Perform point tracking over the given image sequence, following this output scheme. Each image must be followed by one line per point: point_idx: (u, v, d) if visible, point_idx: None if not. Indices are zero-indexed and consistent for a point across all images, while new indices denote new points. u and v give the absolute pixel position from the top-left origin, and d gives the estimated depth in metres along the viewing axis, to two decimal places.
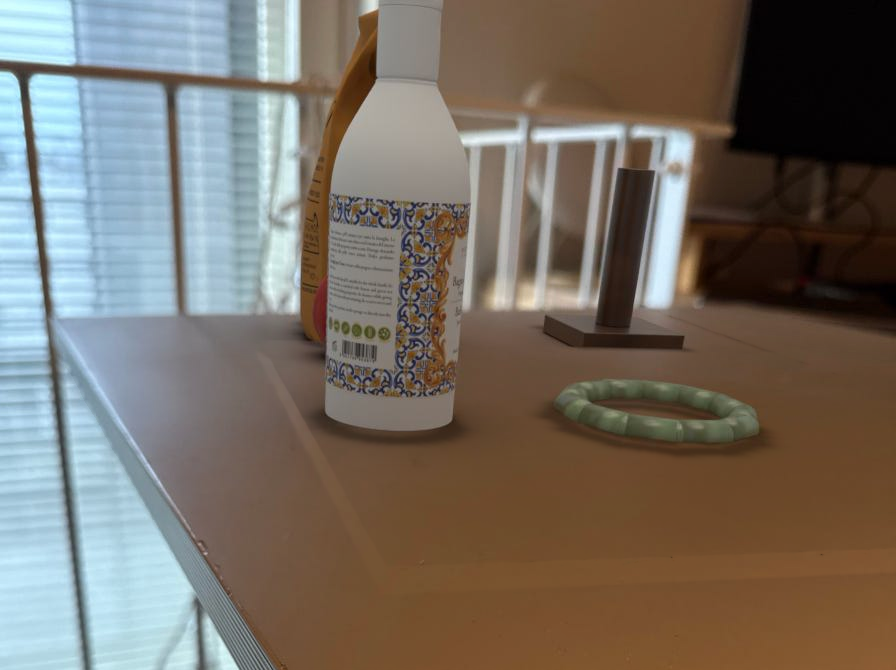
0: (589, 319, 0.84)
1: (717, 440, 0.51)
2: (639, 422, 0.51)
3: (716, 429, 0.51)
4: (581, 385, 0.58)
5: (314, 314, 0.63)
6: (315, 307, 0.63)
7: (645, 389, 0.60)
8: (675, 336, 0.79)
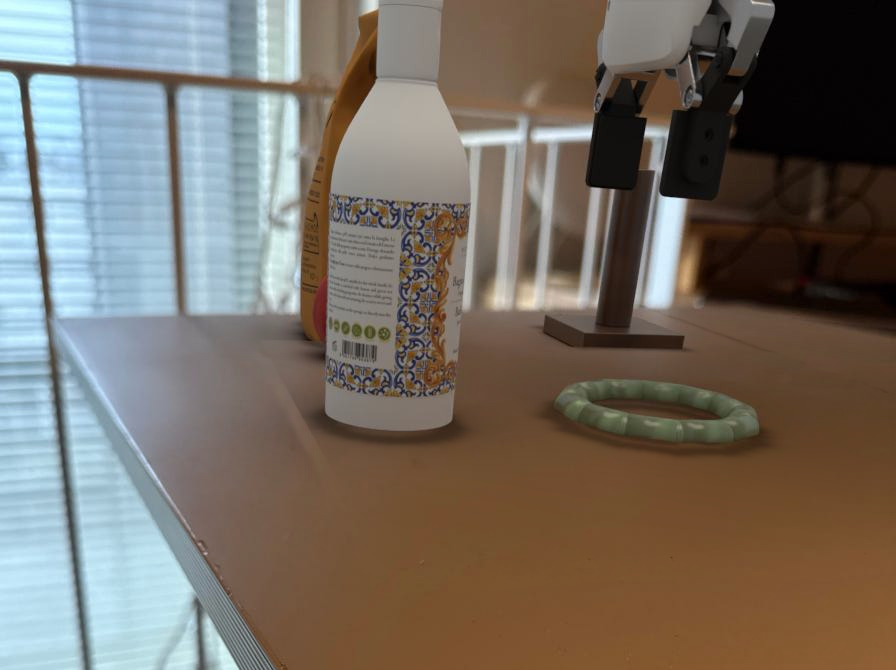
0: (589, 319, 0.84)
1: (717, 440, 0.51)
2: (639, 422, 0.51)
3: (716, 429, 0.51)
4: (581, 385, 0.58)
5: (314, 314, 0.63)
6: (315, 307, 0.63)
7: (645, 389, 0.60)
8: (675, 336, 0.79)
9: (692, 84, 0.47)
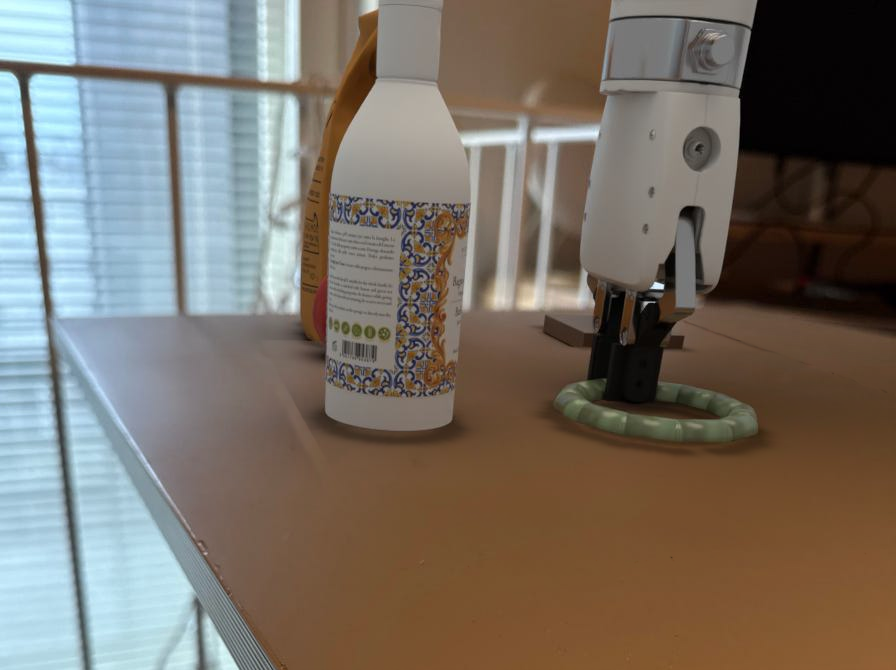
0: (589, 319, 0.84)
1: (716, 439, 0.51)
2: (638, 421, 0.51)
3: (715, 428, 0.51)
4: (580, 385, 0.58)
5: (314, 314, 0.63)
6: (315, 307, 0.63)
7: None
8: (675, 336, 0.79)
9: (628, 332, 0.56)
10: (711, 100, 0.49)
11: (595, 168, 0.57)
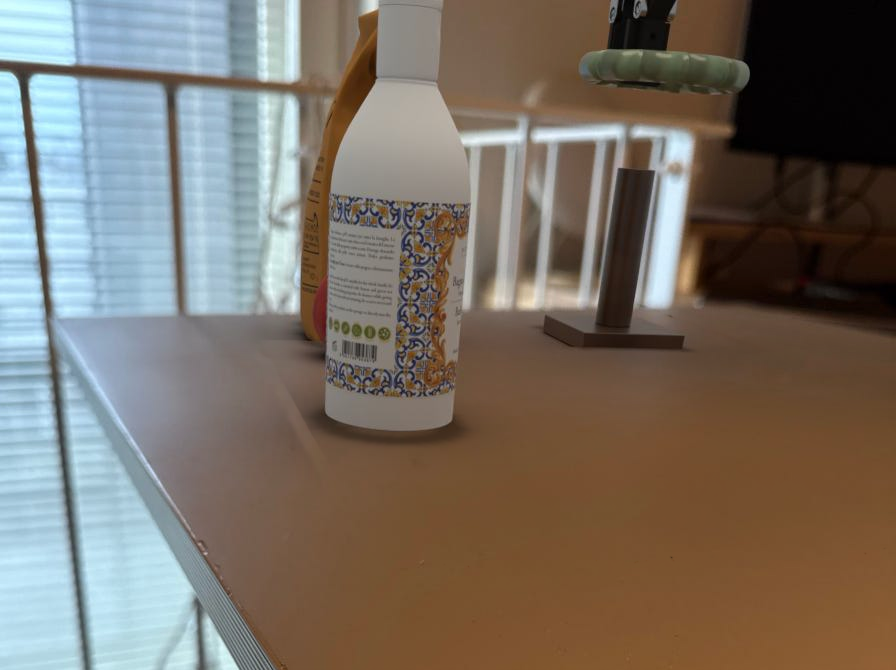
0: (589, 319, 0.84)
1: (716, 69, 0.63)
2: (653, 53, 0.63)
3: (715, 60, 0.63)
4: None
5: (314, 314, 0.63)
6: (315, 307, 0.63)
7: None
8: (675, 336, 0.79)
9: (641, 3, 0.67)
10: None
11: None
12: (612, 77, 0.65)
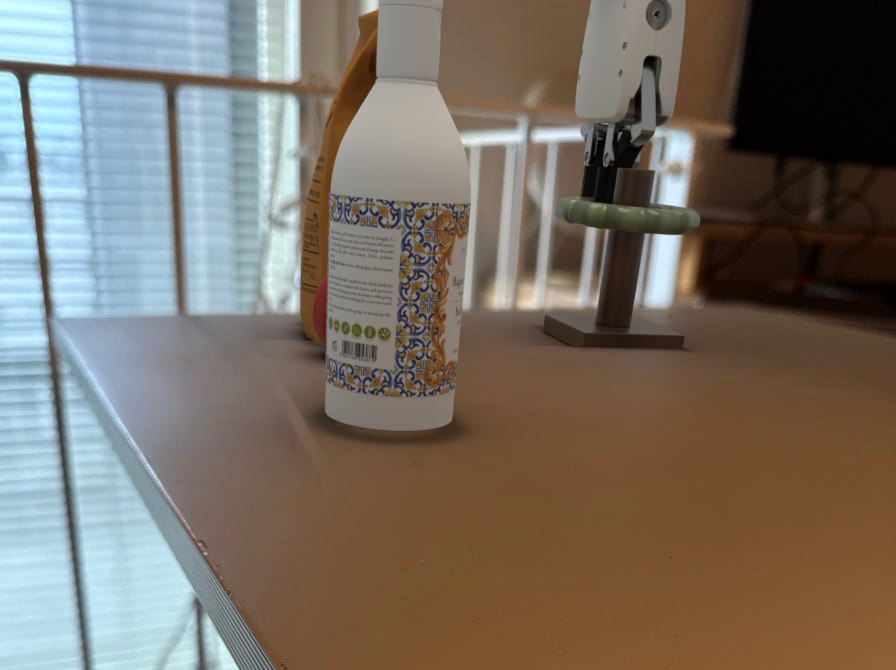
0: (589, 319, 0.84)
1: (669, 222, 0.74)
2: (615, 208, 0.74)
3: (668, 214, 0.74)
4: (575, 197, 0.80)
5: (314, 314, 0.63)
6: (315, 307, 0.63)
7: None
8: (675, 336, 0.79)
9: (609, 155, 0.78)
10: None
11: (586, 39, 0.79)
12: (581, 224, 0.76)
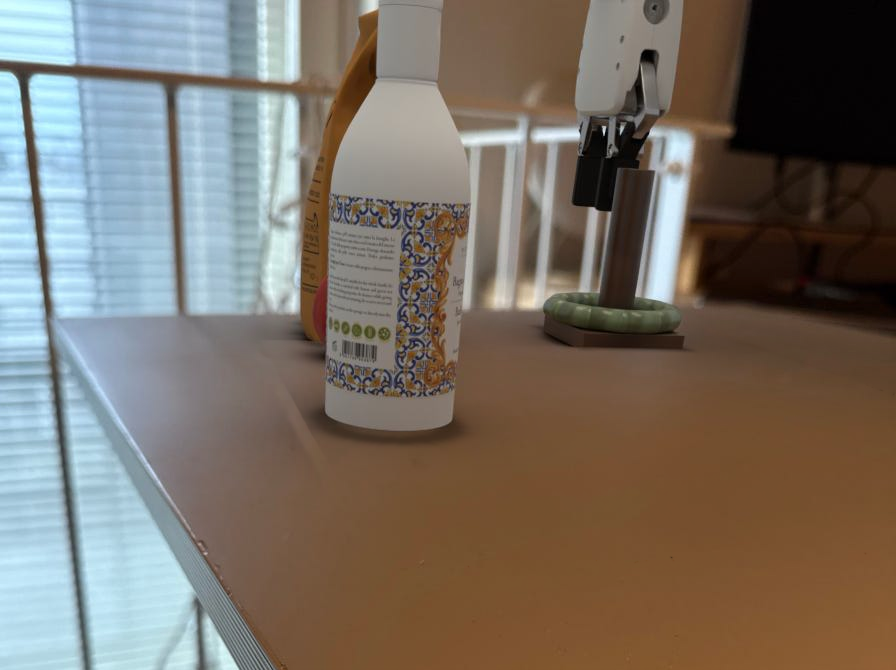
0: None
1: (650, 323, 0.78)
2: (599, 311, 0.78)
3: (649, 316, 0.78)
4: (562, 294, 0.84)
5: (314, 314, 0.63)
6: (315, 307, 0.63)
7: None
8: (675, 336, 0.79)
9: (613, 145, 0.78)
10: None
11: (586, 32, 0.80)
12: (568, 324, 0.80)
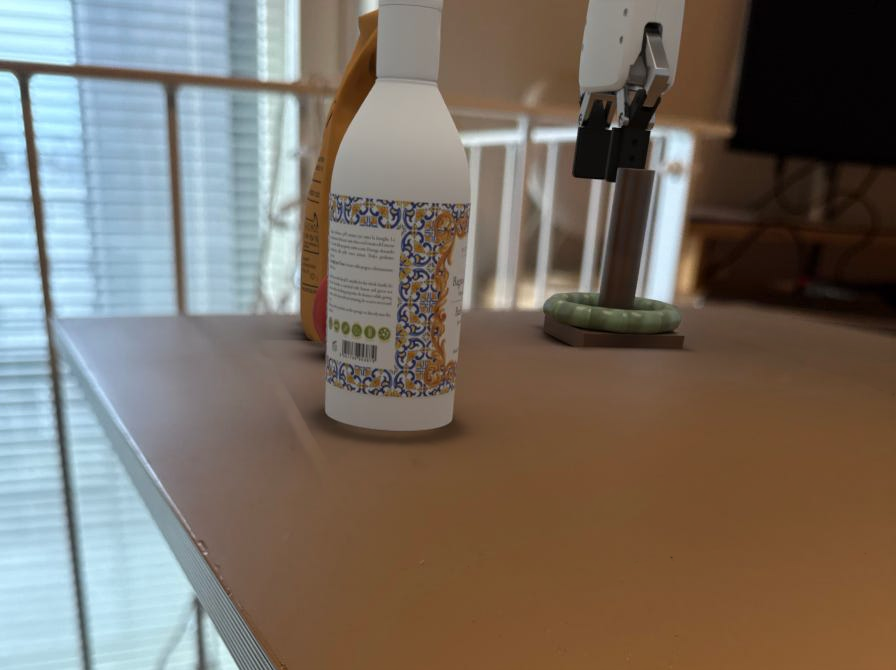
0: None
1: (650, 323, 0.78)
2: (599, 311, 0.78)
3: (649, 316, 0.78)
4: (562, 294, 0.84)
5: (314, 314, 0.63)
6: (315, 307, 0.63)
7: None
8: (675, 336, 0.79)
9: (623, 112, 0.76)
10: None
11: (590, 8, 0.79)
12: (568, 324, 0.80)
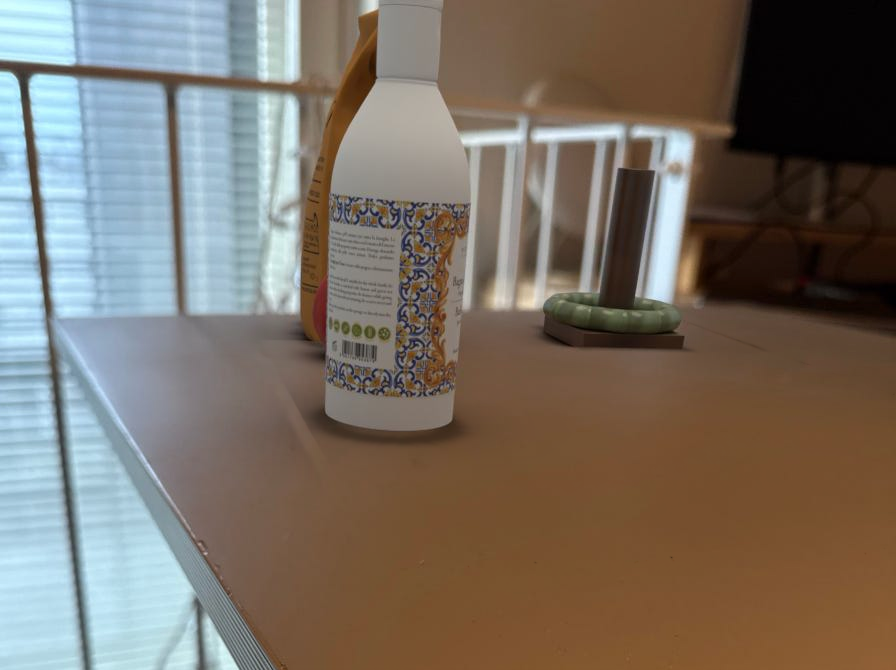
0: None
1: (650, 323, 0.78)
2: (599, 311, 0.78)
3: (649, 316, 0.78)
4: (562, 294, 0.84)
5: (314, 314, 0.63)
6: (315, 307, 0.63)
7: None
8: (675, 336, 0.79)
9: None
10: None
11: None
12: (568, 324, 0.80)
